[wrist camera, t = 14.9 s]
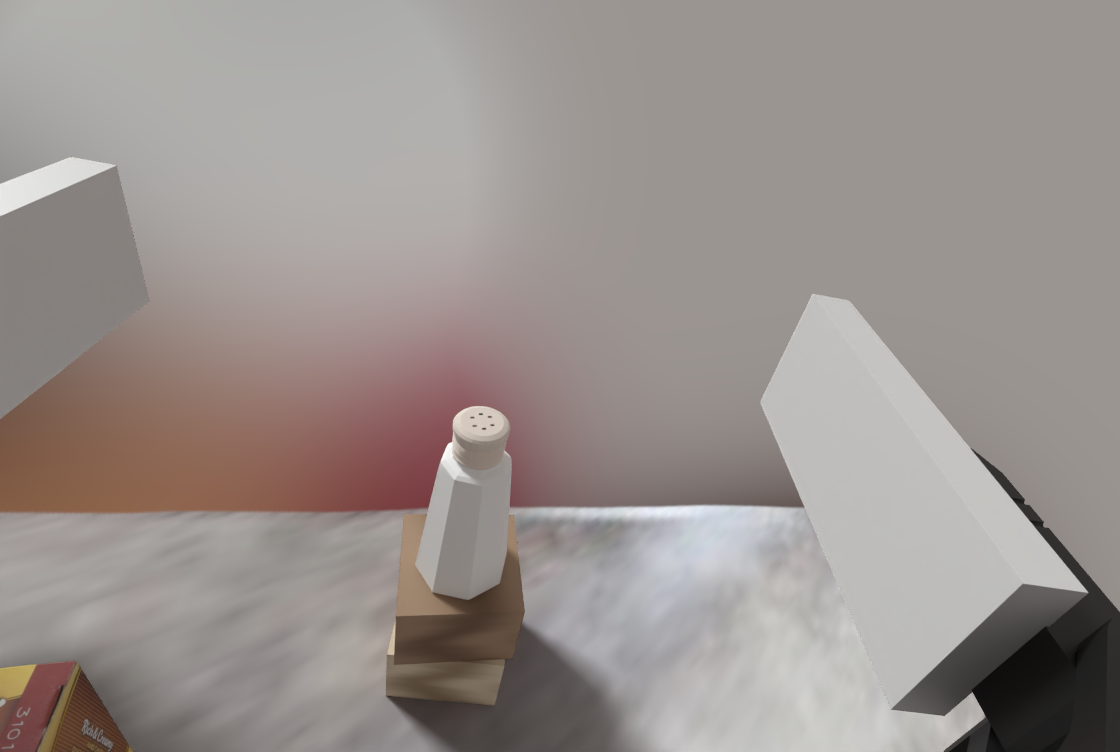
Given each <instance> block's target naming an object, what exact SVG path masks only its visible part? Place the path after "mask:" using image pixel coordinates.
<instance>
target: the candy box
mask: <svg viewBox="0 0 1120 752" xmlns="http://www.w3.org/2000/svg"><path fill="white" fill-rule="evenodd" d="M0 752H133V750H132V749H131V747H130V746H129V745H128V743H127V741H126V740H125V738H124V737H123V735H122V733H121V732H120V730H119V729H118V727H117V725H116V724H115V722H114V721H113V719H112V717H111V716H110V714H109V712H108V711H107V709H106V708H105V706H104V705H103V703H102V701H101V699H100V698H99V696H98V695H97V693H96V692H95V690H94V689H93V687H92V685H91V684H90V682H89V681H88V679H87V677H86V675H85V674H84V672H83V671H82V669H81V667H80V666H79V664H78V662H77V661H67V662H57V663H47V664H36V665H25V666H15V667H5V668H0Z"/></svg>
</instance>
